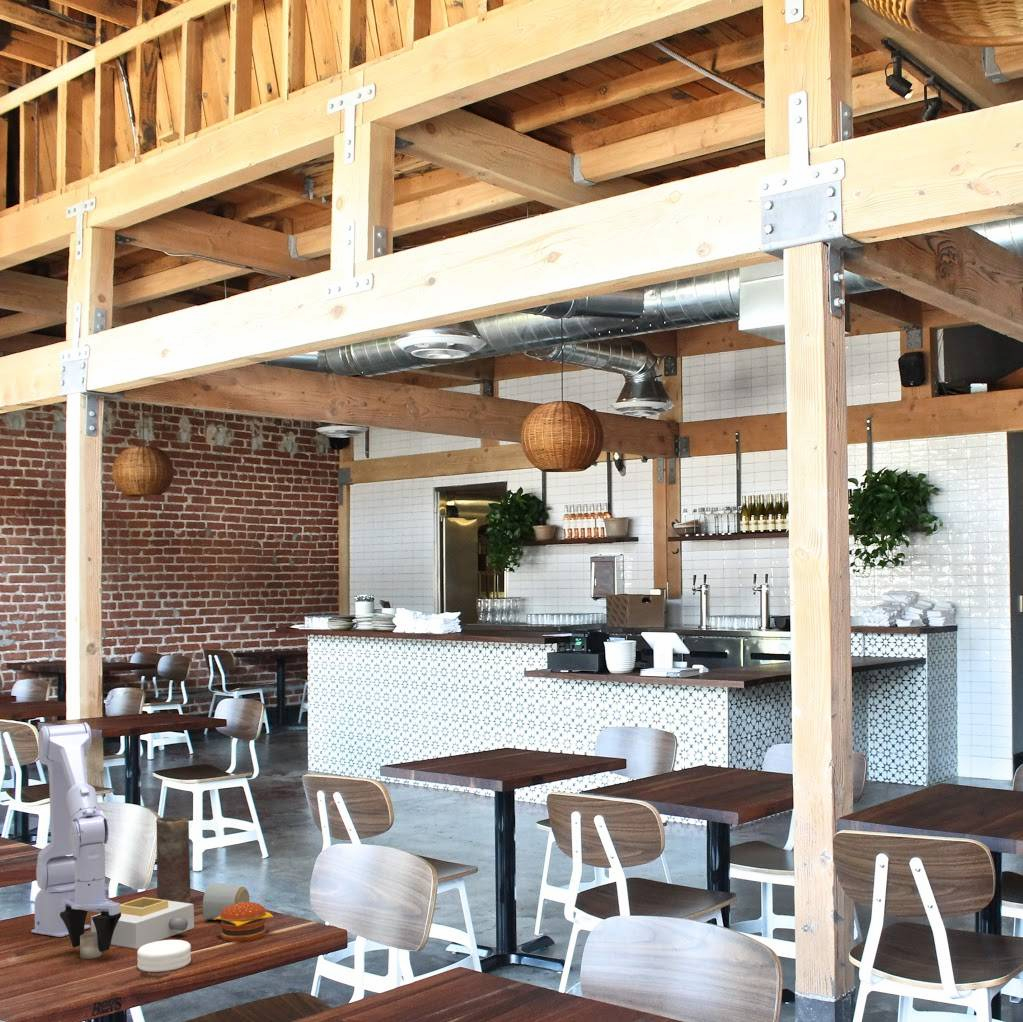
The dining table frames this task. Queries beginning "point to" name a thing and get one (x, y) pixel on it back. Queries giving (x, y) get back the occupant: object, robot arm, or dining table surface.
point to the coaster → (164, 955)
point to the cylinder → (89, 946)
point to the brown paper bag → (173, 859)
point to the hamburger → (243, 922)
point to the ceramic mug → (222, 898)
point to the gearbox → (150, 921)
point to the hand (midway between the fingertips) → (90, 948)
